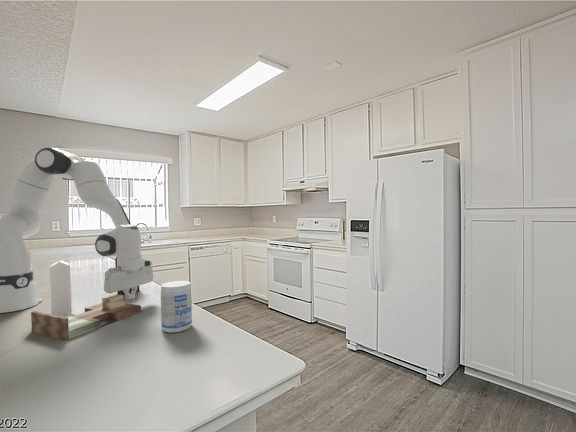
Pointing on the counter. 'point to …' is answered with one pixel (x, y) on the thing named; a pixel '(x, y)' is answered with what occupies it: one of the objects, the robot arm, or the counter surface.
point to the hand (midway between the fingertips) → (130, 298)
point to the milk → (60, 288)
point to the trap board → (79, 320)
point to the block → (112, 301)
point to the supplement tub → (176, 306)
